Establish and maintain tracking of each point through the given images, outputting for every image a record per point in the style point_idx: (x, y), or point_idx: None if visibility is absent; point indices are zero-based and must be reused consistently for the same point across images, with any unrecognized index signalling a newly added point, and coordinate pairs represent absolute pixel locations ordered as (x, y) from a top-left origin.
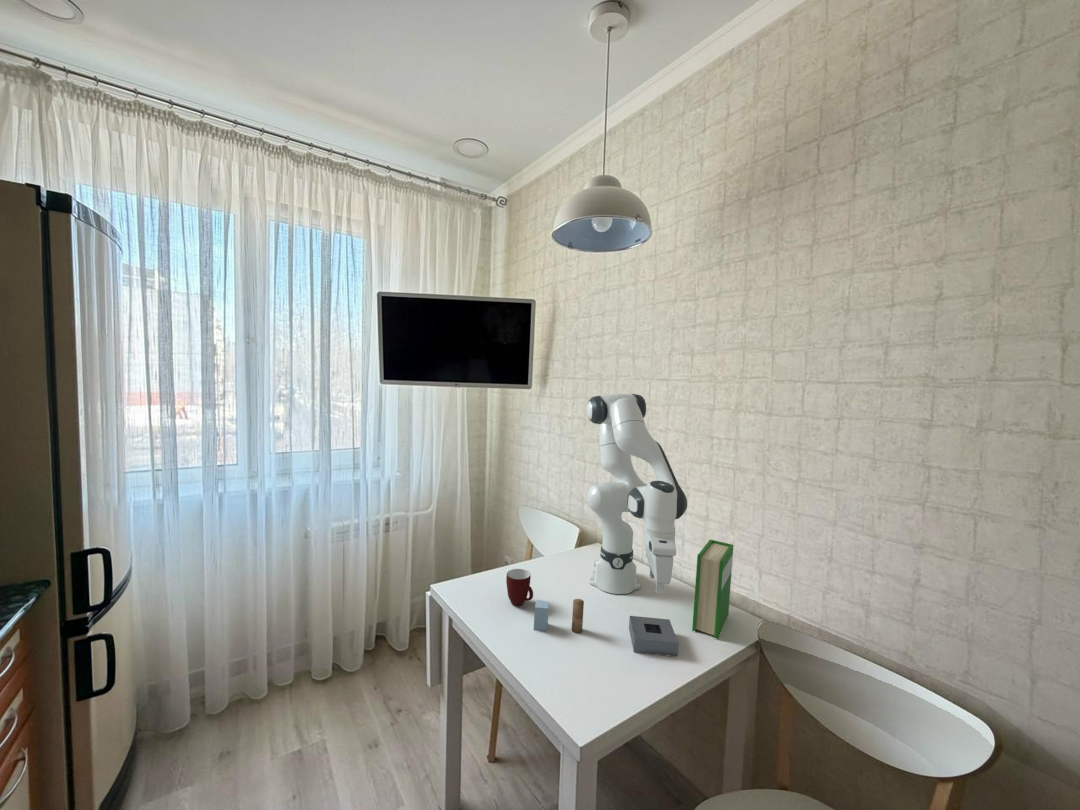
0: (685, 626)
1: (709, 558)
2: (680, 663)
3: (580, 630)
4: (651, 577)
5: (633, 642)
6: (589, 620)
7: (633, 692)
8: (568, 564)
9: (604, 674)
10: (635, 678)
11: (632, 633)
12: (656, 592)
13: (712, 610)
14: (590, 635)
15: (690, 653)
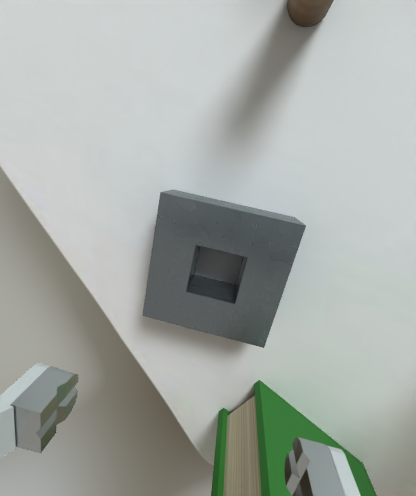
0: (282, 375)
1: None
2: (132, 291)
3: (291, 8)
4: (297, 446)
5: (185, 194)
6: (371, 76)
7: (21, 132)
8: None
9: (75, 65)
10: (69, 155)
11: (214, 202)
12: (34, 366)
13: (231, 484)
14: (269, 58)
15: (169, 330)
